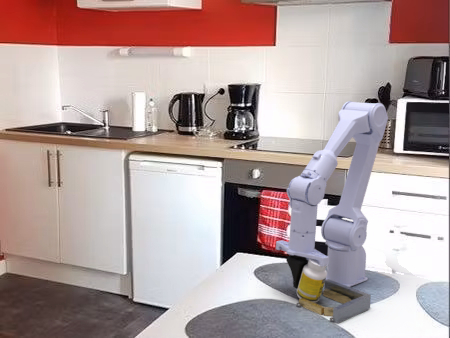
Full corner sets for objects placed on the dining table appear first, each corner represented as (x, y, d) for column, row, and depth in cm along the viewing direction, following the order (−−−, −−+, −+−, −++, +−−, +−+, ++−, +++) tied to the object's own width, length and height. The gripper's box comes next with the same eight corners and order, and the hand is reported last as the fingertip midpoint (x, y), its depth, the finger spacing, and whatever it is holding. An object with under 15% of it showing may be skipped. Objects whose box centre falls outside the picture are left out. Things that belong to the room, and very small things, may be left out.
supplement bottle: (319, 306, 127) (330, 270, 123) (295, 300, 127) (305, 264, 123) (319, 292, 132) (330, 256, 128) (296, 286, 132) (306, 251, 128)
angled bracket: (327, 291, 134) (327, 278, 134) (371, 308, 125) (372, 295, 124) (291, 304, 127) (292, 291, 126) (336, 324, 117) (336, 310, 117)
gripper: (267, 224, 131) (264, 281, 134) (315, 240, 120) (310, 301, 123) (289, 221, 136) (285, 275, 138) (336, 235, 125) (332, 294, 127)
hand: (298, 287), depth 131 cm, fingers closed, pressing on supplement bottle
